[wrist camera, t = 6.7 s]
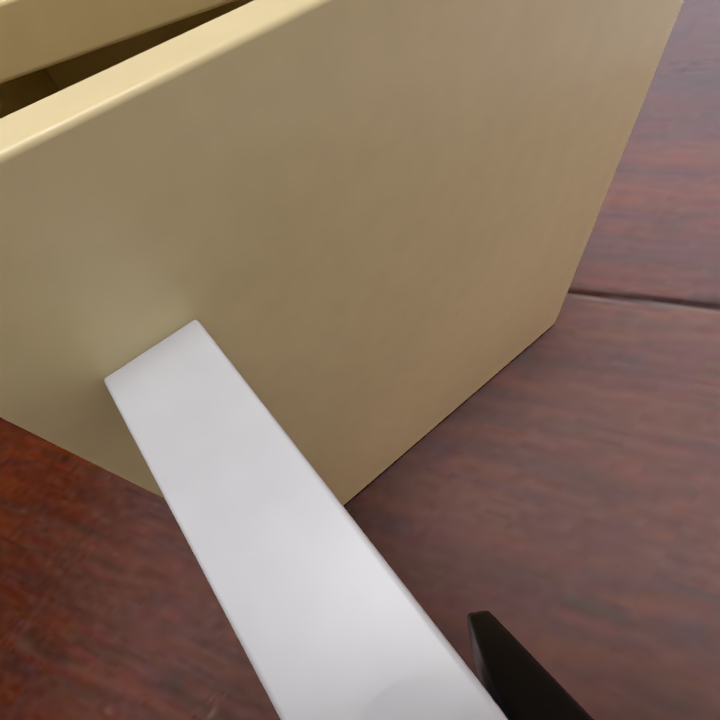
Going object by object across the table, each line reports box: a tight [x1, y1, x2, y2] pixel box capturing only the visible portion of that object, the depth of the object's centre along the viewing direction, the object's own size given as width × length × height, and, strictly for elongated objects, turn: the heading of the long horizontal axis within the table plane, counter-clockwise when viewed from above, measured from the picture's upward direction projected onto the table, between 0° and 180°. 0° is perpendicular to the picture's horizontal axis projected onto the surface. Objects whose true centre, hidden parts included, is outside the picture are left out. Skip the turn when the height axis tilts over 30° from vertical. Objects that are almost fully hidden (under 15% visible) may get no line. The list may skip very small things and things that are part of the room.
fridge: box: [0, 0, 254, 119], centre depth 16 cm, size 11×16×16 cm
